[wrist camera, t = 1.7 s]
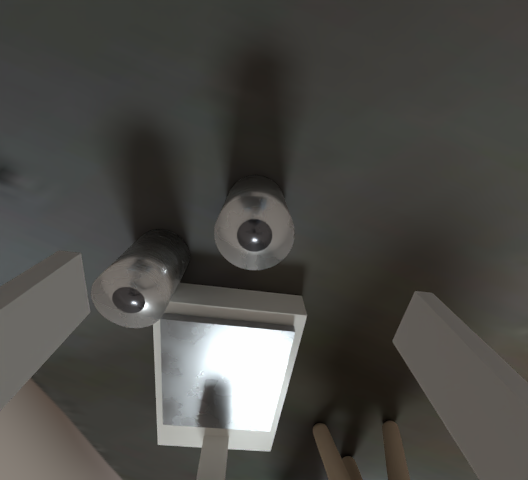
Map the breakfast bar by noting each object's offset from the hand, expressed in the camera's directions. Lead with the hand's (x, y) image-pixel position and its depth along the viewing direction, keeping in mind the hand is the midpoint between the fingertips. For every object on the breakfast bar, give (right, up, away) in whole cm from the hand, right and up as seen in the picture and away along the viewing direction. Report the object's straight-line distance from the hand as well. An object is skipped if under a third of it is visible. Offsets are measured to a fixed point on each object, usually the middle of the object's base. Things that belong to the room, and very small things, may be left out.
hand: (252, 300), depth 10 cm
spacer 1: (-9, +1, +14) cm, 16 cm away
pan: (-4, -12, +16) cm, 20 cm away
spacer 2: (0, +6, +12) cm, 13 cm away
